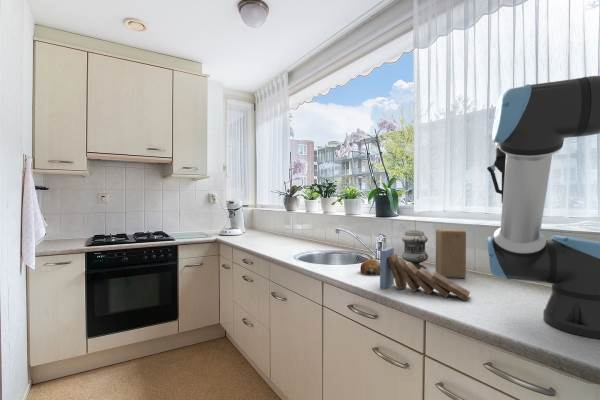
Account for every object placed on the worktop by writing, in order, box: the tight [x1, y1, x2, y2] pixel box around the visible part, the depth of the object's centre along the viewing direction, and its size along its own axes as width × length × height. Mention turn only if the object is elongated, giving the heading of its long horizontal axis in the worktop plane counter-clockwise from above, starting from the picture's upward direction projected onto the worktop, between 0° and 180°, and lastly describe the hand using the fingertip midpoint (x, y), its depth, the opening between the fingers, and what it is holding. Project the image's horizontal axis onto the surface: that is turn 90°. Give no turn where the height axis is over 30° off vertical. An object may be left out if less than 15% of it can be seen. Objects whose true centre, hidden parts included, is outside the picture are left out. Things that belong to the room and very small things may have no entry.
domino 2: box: [394, 257, 421, 293], centre depth 112 cm, size 2×6×12 cm
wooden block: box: [435, 228, 467, 279], centre depth 132 cm, size 10×10×20 cm
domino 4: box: [416, 267, 451, 298], centre depth 107 cm, size 2×6×12 cm
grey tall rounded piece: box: [401, 229, 429, 270], centre depth 147 cm, size 12×12×18 cm
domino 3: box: [403, 262, 435, 295], centre depth 110 cm, size 2×6×12 cm
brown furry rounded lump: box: [360, 258, 380, 276], centre depth 136 cm, size 10×10×8 cm
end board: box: [379, 246, 395, 290], centre depth 116 cm, size 2×10×14 cm, turn 146°
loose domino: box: [431, 271, 471, 302], centre depth 104 cm, size 2×6×12 cm
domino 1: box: [387, 253, 408, 290], centre depth 114 cm, size 2×6×12 cm, turn 145°
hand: (508, 213), depth 107 cm, fingers closed
